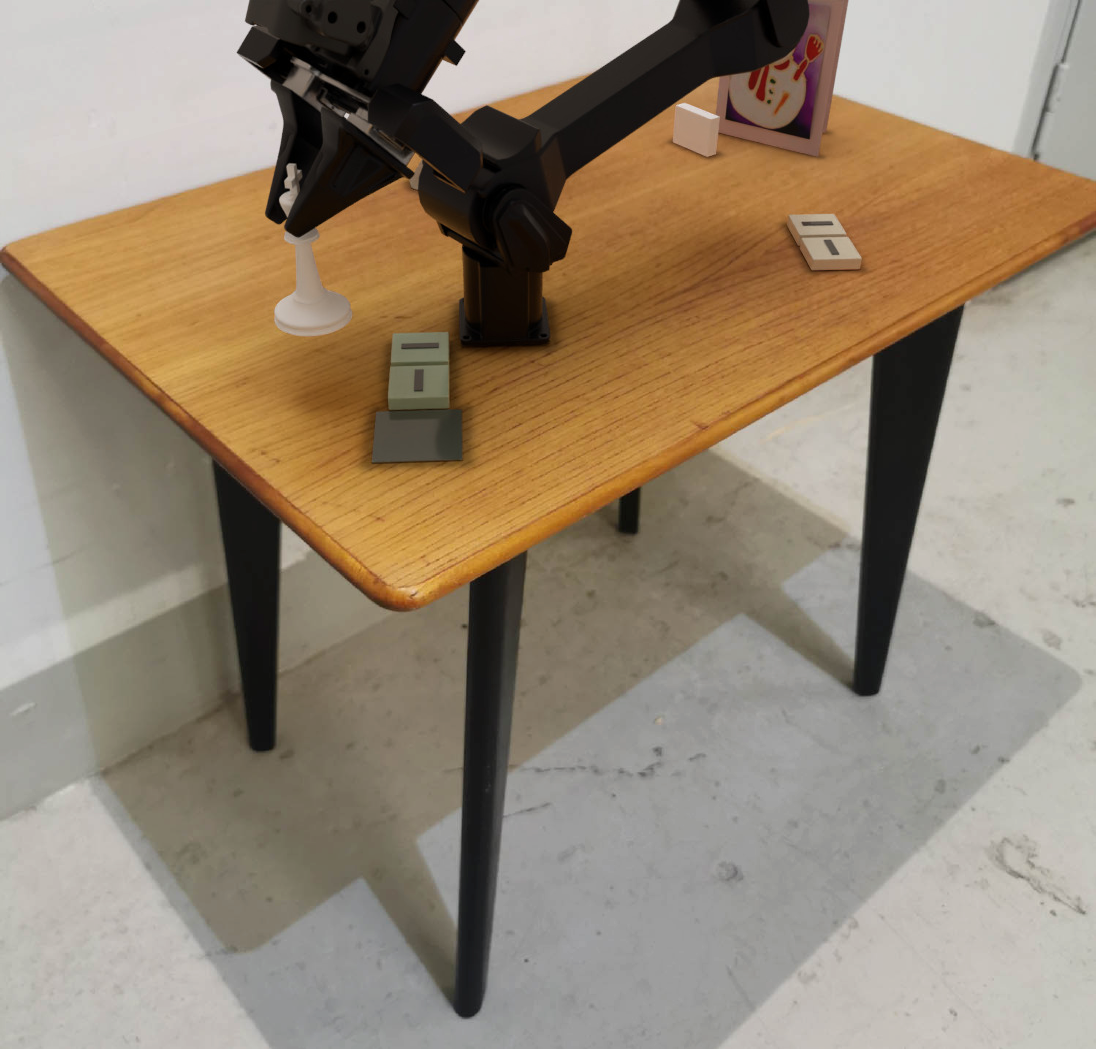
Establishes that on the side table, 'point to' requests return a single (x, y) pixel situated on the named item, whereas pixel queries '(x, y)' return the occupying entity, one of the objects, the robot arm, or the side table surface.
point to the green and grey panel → (418, 403)
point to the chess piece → (308, 283)
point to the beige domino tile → (823, 242)
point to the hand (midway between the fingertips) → (281, 227)
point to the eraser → (696, 129)
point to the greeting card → (788, 88)
